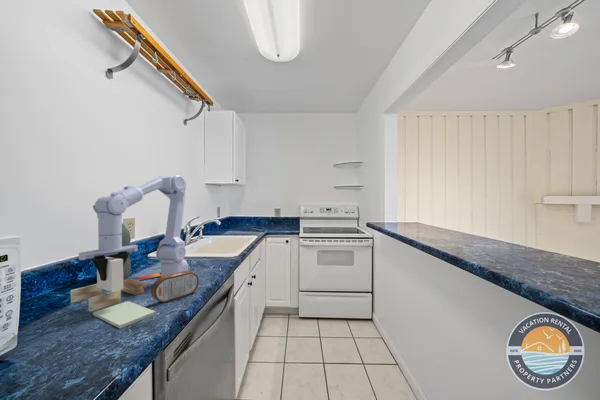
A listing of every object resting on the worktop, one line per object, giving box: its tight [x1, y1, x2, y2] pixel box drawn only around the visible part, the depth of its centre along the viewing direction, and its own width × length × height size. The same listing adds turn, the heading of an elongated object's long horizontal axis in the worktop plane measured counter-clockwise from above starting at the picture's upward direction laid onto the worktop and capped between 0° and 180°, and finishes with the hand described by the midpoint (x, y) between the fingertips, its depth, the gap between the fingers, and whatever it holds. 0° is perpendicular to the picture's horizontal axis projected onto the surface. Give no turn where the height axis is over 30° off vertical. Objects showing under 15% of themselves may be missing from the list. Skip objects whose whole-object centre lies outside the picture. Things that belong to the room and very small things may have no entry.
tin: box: [150, 270, 200, 303], centre depth 81 cm, size 15×3×8 cm, turn 141°
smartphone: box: [123, 271, 161, 282], centre depth 103 cm, size 7×15×1 cm, turn 128°
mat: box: [92, 300, 156, 329], centre depth 69 cm, size 9×16×1 cm, turn 60°
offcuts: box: [120, 279, 146, 296], centre depth 88 cm, size 3×11×4 cm, turn 61°
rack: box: [70, 283, 122, 313], centre depth 78 cm, size 8×15×4 cm, turn 60°
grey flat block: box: [96, 256, 124, 292], centre depth 73 cm, size 3×10×9 cm, turn 60°
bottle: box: [105, 222, 132, 279], centre depth 106 cm, size 9×9×30 cm
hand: (110, 278), depth 73 cm, fingers closed on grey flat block, 3 cm apart
